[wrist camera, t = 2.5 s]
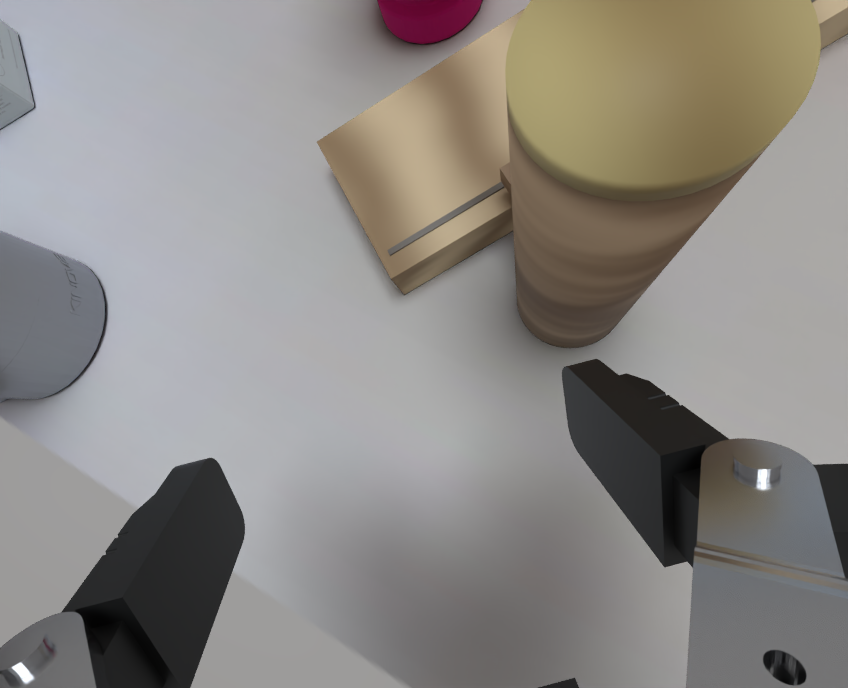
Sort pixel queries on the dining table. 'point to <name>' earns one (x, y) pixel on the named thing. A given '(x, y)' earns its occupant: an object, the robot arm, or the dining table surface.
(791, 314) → the dining table surface
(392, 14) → the pepper mill
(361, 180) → the board
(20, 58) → the small box
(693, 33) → the wooden cylinder yellow top
